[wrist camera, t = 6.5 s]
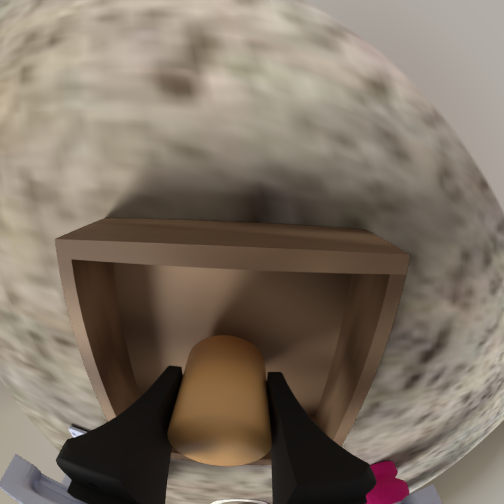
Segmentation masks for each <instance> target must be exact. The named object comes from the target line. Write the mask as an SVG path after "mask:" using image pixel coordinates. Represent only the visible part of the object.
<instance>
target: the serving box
mask: <svg viewBox="0 0 504 504" xmlns="http://www.w3.org/2000/svg"><path fill="white" fill-rule="evenodd" d="M55 244H56V252H57V259H58V265H59V271H60V277H61V282H62V287H63V292H64V296H65V301H66V305H67V309H68V313H69V317H70V321H71V325H72V328H73V332H74V335H75V339H76V342H77V345H78V348H79V351H80V354H81V357H82V360H83V363H84V366H85V369H86V371H87V374H88V377H89V379H90V382H91V384H92V387H93V389H94V392H95V394H96V397H97V399H98V401H99V403H100V406H101V408H102V410H103V412H104V414H105V416H106V419H107V421H108V422H109V421H110V420H112V419H113V418H115V417H116V416H118V415H119V414H121V413H122V412H123V411H125V410H126V409H127V408H128V407H130V406H131V405H132V404H133V403H134V402H135V401H136V400H137V399H139V398H140V397H141V396H142V395H143V394H144V393H145V392H146V391H147V390H148V389H149V388H150V386H151V385H152V384H153V383H154V382H155V381H156V380H157V379H158V378H159V376H160V375H161V374H162V373H163V372H164V370H165V369H166V368H167V367H168V366H169V365H170V366H179V367H182V374H183V373H184V370H185V366H186V363H187V360H188V356H189V353H190V351H191V349H192V348H193V347H194V346H195V345H196V344H197V343H198V342H200V341H201V340H204V339H206V338H209V337H212V336H218V335H228V336H235V337H239V338H242V339H244V340H247V341H248V342H250V343H252V344H253V345H254V346H256V347H257V348H258V349H259V351H260V352H261V353H262V355H263V357H264V360H265V367H266V379H267V375H268V372H281V373H283V375H284V378H285V380H286V382H287V384H288V385H289V387H290V389H291V391H292V392H293V394H294V396H295V397H296V399H297V400H298V402H299V403H300V405H301V406H302V408H303V409H304V410H305V412H306V413H307V414H308V415H309V417H310V418H311V419H312V420H313V421H314V422H315V424H316V425H317V426H318V427H319V428H320V429H321V430H322V431H323V432H324V433H325V434H326V435H327V436H329V437H330V438H331V439H332V440H333V441H335V442H336V443H337V444H338V445H340V446H342V444H343V443H344V441H345V439H346V437H347V435H348V433H349V431H350V429H351V427H352V425H353V423H354V421H355V419H356V417H357V415H358V413H359V411H360V409H361V407H362V404H363V402H364V400H365V398H366V396H367V393H368V391H369V389H370V386H371V384H372V381H373V379H374V376H375V374H376V371H377V369H378V366H379V364H380V361H381V358H382V355H383V353H384V350H385V347H386V344H387V341H388V338H389V335H390V332H391V329H392V326H393V323H394V319H395V316H396V312H397V309H398V305H399V302H400V298H401V294H402V290H403V286H404V282H405V278H406V274H407V269H408V264H409V260H410V255H409V254H408V253H406V252H404V251H403V250H401V249H399V248H398V247H396V246H394V245H392V244H391V243H389V242H387V241H385V240H384V239H382V238H380V237H378V236H377V235H375V234H373V233H371V232H369V231H368V230H364V229H351V228H338V227H324V226H309V225H293V224H276V223H257V222H235V221H210V220H177V219H107V218H104V219H102V220H99V221H97V222H94V223H92V224H89V225H87V226H84V227H82V228H79V229H77V230H75V231H72V232H70V233H68V234H65V235H63V236H61V237H59V238H56V239H55ZM170 458H175V459H182V460H189V461H195V460H192V459H190V458H188V457H186V456H184V455H183V454H181V453H180V452H178V451H177V450H176V449H175V448H174V447H173V448H172V452H171V457H170ZM197 462H198V461H197ZM244 465H272V463H271V453H270V451H269V452H268V453H267V454H266V455H265V456H264V457H262V458H261V459H259V460H257V461H254V462H252V463H248V464H244Z"/></svg>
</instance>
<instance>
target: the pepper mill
mask: <svg viewBox="0 0 504 504" xmlns="http://www.w3.org/2000/svg"><path fill="white" fill-rule="evenodd" d="M370 467H371V469H372V471H373V473H374V475H375V478H376V480H377V483H376V485H375V486H374V488H373V489H372V490H371V491H370V492H369V493H368V494H367V495H366V498H367V503H366V504H394V503H396V502H399V501H402V500H403V499H404V498H405V497H406V496H408V495H409V489H408V485H407V483H406V482H405V481H403V480H401V479H397V478H395V477H396V475H397V473H398V471H397V469H396V467H395V464H394V463H393V462H391V461H384V462H380V463H376V464H373V465H370Z"/></svg>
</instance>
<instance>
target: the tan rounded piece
mask: <svg viewBox="0 0 504 504" xmlns="http://www.w3.org/2000/svg"><path fill="white" fill-rule="evenodd" d="M167 436H168V440H169V442H170V444H171V445H172V446H173V447H174V448H175V449H176V450H177V451H178V452H180V453H181V454H183V455H184V456H186V457H188V458H190V459H192V460H195V461H198V462H201V463H205V464H210V465H217V466H238V465H244V464H248V463H252V462H254V461H257V460H259V459H261V458H262V457H264V456H265V455H266V454H267V453H268V452H269V451H270V449H271V446H272V438H271V426H270V414H269V402H268V392H267V379H266V367H265V360H264V357H263V355H262V353H261V352H260V351H259V349H258V348H257V347H256V346H254V345H253V344H252V343H250V342H248V341H247V340H244V339H242V338H239V337H235V336H228V335H218V336H212V337H209V338H206V339H204V340H201V341H200V342H198V343H197V344H196V345H195V346H194V347H193V348H192V349H191V351H190V353H189V356H188V360H187V363H186V366H185V370H184V373H183V377H182V381H181V384H180V388H179V391H178V395H177V399H176V402H175V406H174V410H173V413H172V417H171V421H170V425H169V428H168V433H167Z"/></svg>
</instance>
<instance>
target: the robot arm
mask: <svg viewBox="0 0 504 504" xmlns="http://www.w3.org/2000/svg"><path fill="white" fill-rule="evenodd" d="M182 377H183V374H182V367H179V366H170V365H169V366H168V367H167V368H166V369H165V370H164V372H163V373H162V374H161V375H160V376H159V378H158V379H157V380H156V381H155V382H154V383H153V384H152V385H151V386H150V388H149V389H148V390H147V391H146V392H145V393H144V394H143V395H142V396H141V397H140V398H139V399H137V400H136V401H135V402H134V403H133V404H132V405H131V406H130V407H128V408H127V409H126V410H125V411H123V412H122V413H121V414H119V415H118V416H116V417H115V418H113V419H112V420H110V421H109V422H107V423H105V424H104V425H102V426H100V427H98V428H96V429H94V430H92V431H90V432H86V431H83V430H80V429H78V428H75V427H72V426H69V428H68V429H69V431H70V432H71V434H72V435H73V437H74V438H71V439H67V441H66V442H65V444H64V445H63V447H62V449H61V451H60V453H59V455H58V457H57V459H56V462H57V464H58V466H59V467H60V468H61V469H62V471H63V472H64V473H65V475H64V478H63V480H62V482H61V483H59V482H57V481H55V480H53V479H51V478H49V477H47V476H45V475H44V474H42V473H41V472H40V471H39V470H38V468H36V467H35V466H34V465H33V464H31V463H30V462H28V461H26V460H25V459H23V458H22V457H20V456H19V455H17V454H15V456H14V457H13V459H12V461H11V463H10V464H9V466H8V468H7V470H6V471H5V473H4V475H3V477H2V479H1V481H0V488H1V489H2V490H3V491H4V492H6V493H7V494H8V495H9V496H11V497H12V498H13V499H15V500H16V501H17V502H19V503H20V504H165V498H166V487H167V478H168V470H169V464H170V457H171V452H172V448H173V446H172V445H171V444H170V442H169V440H168V436H167V433H168V428H169V425H170V421H171V417H172V413H173V410H174V406H175V402H176V399H177V395H178V391H179V388H180V384H181V381H182ZM267 392H268V402H269V414H270V426H271V438H272V446H271V449H270V453H271V463H272V491H273V504H366V503H367V498H366V495H367V494H368V493H369V492H370V491H371V490H372V489H373V488H374V486H375V485H376V483H377V480H376V478H375V475H374V473H373V471H372V469H371V467H370V465H369V464H368V463H366V462H365V461H363V460H361V459H359V458H357V457H355V456H354V455H352V454H351V453H349V452H348V451H346V450H345V449H343V448H342V447H341V446H340V445H338V444H337V443H336V442H335V441H333V440H332V439H331V438H330V437H329V436H327V435H326V434H325V433H324V432H323V431H322V430H321V429H320V428H319V427H318V426H317V425H316V424H315V422H314V421H313V420H312V419H311V418H310V417H309V415H308V414H307V413H306V412H305V410H304V409H303V408H302V406H301V405H300V403H299V402H298V400H297V399H296V397H295V396H294V394H293V392H292V391H291V389H290V387H289V385H288V384H287V382H286V380H285V378H284V375H283V373H281V372H268V375H267ZM394 504H442V502H441V500H440V498H439V496H438V493H437V491H436V489H435V487H434V485H433V484H431V485H429V486H427V487H424V488H422V489H420V490H417V491H415V492H413V493H411V494H409V495H408V496H406V497H405V498H404V499H403V500H402V501H399V502H396V503H394Z"/></svg>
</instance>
